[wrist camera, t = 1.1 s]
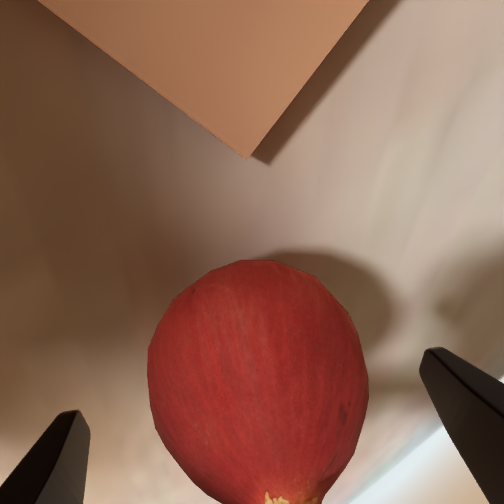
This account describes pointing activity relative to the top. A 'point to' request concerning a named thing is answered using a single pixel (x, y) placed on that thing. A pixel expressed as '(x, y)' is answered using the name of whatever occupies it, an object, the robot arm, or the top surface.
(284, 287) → the onion
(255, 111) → the letter tile
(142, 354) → the top surface
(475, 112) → the top surface
